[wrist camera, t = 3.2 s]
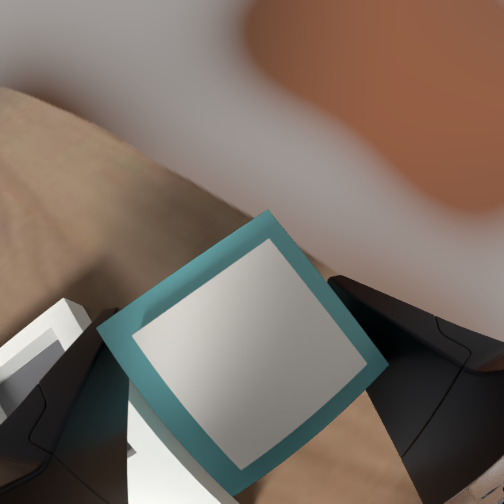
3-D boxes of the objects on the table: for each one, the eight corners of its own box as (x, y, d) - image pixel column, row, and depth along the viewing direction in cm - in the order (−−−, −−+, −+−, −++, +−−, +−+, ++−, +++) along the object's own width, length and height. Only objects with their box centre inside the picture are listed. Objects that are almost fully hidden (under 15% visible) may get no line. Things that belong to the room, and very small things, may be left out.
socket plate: (251, 514, 12) (260, 537, 10) (119, 577, 9) (111, 600, 7) (82, 306, 15) (62, 297, 12) (-29, 393, 12) (-54, 395, 9)
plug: (286, 360, 15) (403, 364, 6) (214, 416, 14) (235, 508, 5) (230, 290, 16) (273, 196, 7) (157, 342, 15) (86, 325, 5)
